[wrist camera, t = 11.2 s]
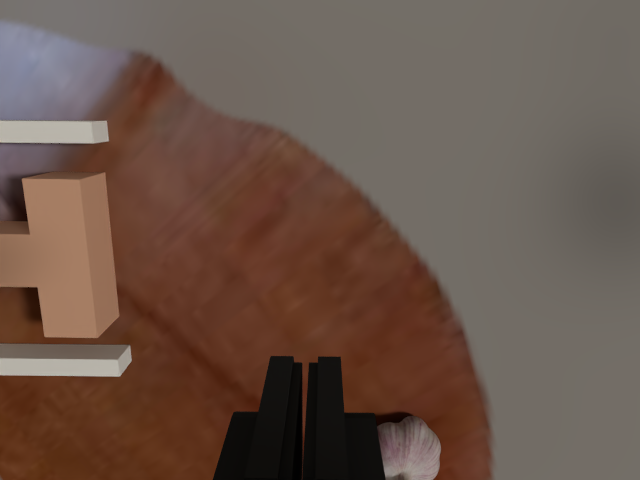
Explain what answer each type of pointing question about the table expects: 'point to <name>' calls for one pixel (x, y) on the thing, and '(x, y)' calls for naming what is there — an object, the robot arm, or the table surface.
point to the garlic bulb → (409, 450)
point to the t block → (64, 253)
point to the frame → (60, 355)
